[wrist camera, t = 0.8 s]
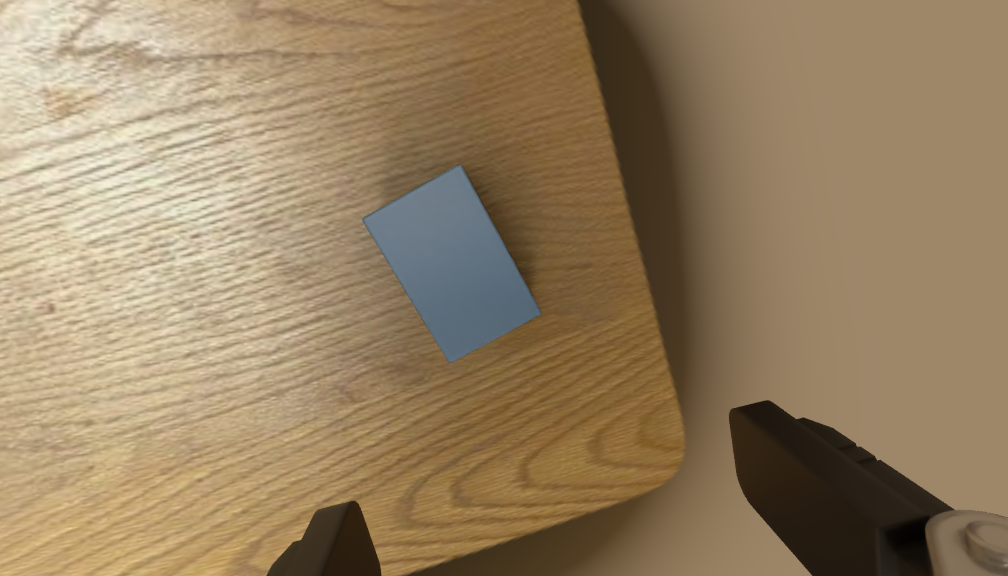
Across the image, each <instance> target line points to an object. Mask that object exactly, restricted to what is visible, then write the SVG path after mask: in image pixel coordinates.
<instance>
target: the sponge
mask: <svg viewBox="0 0 1008 576" xmlns="http://www.w3.org/2000/svg"><path fill="white" fill-rule="evenodd" d="M362 221H363V223H364V224H365V226H366V227H367V229H368V231H369V232H370V234H371V236H372V237H373V239H374V241H375V242H376V244H377V246H378V247H379V249H380V250H381V252H382V254H383V255H384V257H385V259H386V260H387V262H388V264H389V265H390V267H391V269H392V270H393V272H394V273H395V275H396V277H397V278H398V280H399V282H400V283H401V285H402V287H403V288H404V290H405V292H406V293H407V295H408V296H409V298H410V300H411V301H412V303H413V305H414V306H415V308H416V310H417V311H418V313H419V315H420V316H421V318H422V319H423V321H424V323H425V324H426V326H427V328H428V329H429V331H430V333H431V334H432V336H433V338H434V339H435V341H436V342H437V344H438V346H439V347H440V349H441V351H442V352H443V354H444V356H445V357H446V359H447V361H448V362H449V363H452V362H454V361H456V360H458V359H459V358H461V357H463V356H465V355H467V354H469V353H471V352H472V351H474V350H476V349H478V348H480V347H482V346H484V345H485V344H487V343H489V342H491V341H493V340H495V339H497V338H498V337H500V336H502V335H504V334H506V333H508V332H510V331H511V330H513V329H515V328H517V327H519V326H521V325H522V324H524V323H526V322H528V321H530V320H532V319H534V318H535V317H537V316H539V315H541V311H540V309H539V307H538V305H537V303H536V301H535V299H534V298H533V296H532V294H531V292H530V290H529V288H528V287H527V285H526V283H525V281H524V279H523V277H522V276H521V274H520V272H519V270H518V268H517V266H516V265H515V263H514V261H513V259H512V257H511V255H510V253H509V252H508V250H507V248H506V246H505V244H504V242H503V241H502V239H501V237H500V235H499V233H498V231H497V230H496V228H495V226H494V224H493V222H492V220H491V218H490V217H489V215H488V213H487V211H486V209H485V207H484V206H483V204H482V202H481V200H480V198H479V196H478V195H477V193H476V191H475V189H474V187H473V185H472V184H471V182H470V180H469V178H468V176H467V174H466V172H465V171H464V169H463V167H462V165H461V164H458V165H456V166H455V167H453V168H451V169H449V170H448V171H446V172H444V173H442V174H440V175H439V176H437V177H435V178H433V179H431V180H430V181H428V182H426V183H424V184H423V185H421V186H419V187H417V188H415V189H414V190H412V191H410V192H408V193H406V194H405V195H403V196H401V197H399V198H398V199H396V200H394V201H392V202H390V203H389V204H387V205H385V206H383V207H381V208H380V209H378V210H376V211H374V212H372V213H371V214H369V215H367V216H365V217H364V218H363V219H362Z"/></svg>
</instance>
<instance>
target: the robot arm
mask: <svg viewBox="0 0 1008 576" xmlns="http://www.w3.org/2000/svg"><path fill="white" fill-rule="evenodd" d="M729 422H730V429H731V437H732V444H733V452H734V459H735V466H736V473H737V477H738V481H739V484H740V486H741V489H742V491H743V493H744V495H745V497H746V498H747V500H748V502H749V503H750V504H751V506H752V507H753V508H754V509H755V510H756V511H757V513H758V514H759V515H760V516H761V517H762V518H763V519H764V521H765V522H766V523H767V524H768V525H769V526H770V527H771V529H772V530H773V531H774V532H775V533H776V534H777V536H778V537H779V538H780V539H781V540H782V541H783V542H784V544H785V545H786V546H787V547H788V548H789V549H790V550H791V552H792V553H793V554H794V555H795V556H796V557H797V559H798V560H799V561H800V562H801V563H802V564H803V565H804V567H805V568H806V569H807V570H808V571H809V572H810V573H811V575H812V576H1008V517H1004V516H1000V515H997V514H992V513H987V512H981V511H973V510H954V509H953V508H951V507H950V506H948V505H947V504H945V503H944V502H942V501H941V500H939V499H938V498H936V497H935V496H933V495H932V494H930V493H929V492H927V491H926V490H924V489H923V488H921V487H920V486H918V485H917V484H916V483H914V482H913V481H911V480H909V479H908V478H906V477H905V476H904V475H902V474H901V473H899V472H898V471H896V470H894V469H893V468H892V467H890V466H888V465H887V464H886V463H884V462H883V461H881V460H878V461H877V460H876V458H875V456H874V455H872V454H871V453H869V452H868V451H866V450H865V449H863V448H862V447H857V446H856V443H854V442H853V441H851V440H850V439H848V438H847V437H845V436H844V435H842V434H841V433H839V432H838V431H836V430H835V429H833V428H831V427H829V426H826V425H823V424H820V423H817V422H814V421H812V420H809V419H806V418H800V419H795V418H794V417H792V416H791V415H790V414H788V413H787V412H785V411H784V410H783V409H781V408H780V407H778V406H777V405H776V404H774V403H773V402H771V401H768V400H766V401H761V402H757V403H753V404H749V405H745V406H741V407H737V408H733V409H731V411H730V413H729ZM267 576H381V568H380V563H379V560H378V557H377V554H376V551H375V548H374V545H373V542H372V539H371V537H370V534H369V531H368V528H367V525H366V522H365V519H364V516H363V514H362V511H361V508H360V506H359V504H358V503H357V502H356V501H350V502H346V503H342V504H338V505H334V506H330V507H326V508H322V509H318V510H317V511H316V512H315V514H314V515H313V517H312V519H311V521H310V523H309V525H308V528H307V530H306V532H305V534H304V536H303V538H302V540H300V541H296V542H293V543H292V544H291V545H290V546H289V547H288V548H287V549H286V551H285V552H284V553H283V554H282V555H281V556H280V557H279V558H278V559H277V560H276V561H275V562H274V564H273V565H272V566H271V568H270V570H269V572H268V574H267Z"/></svg>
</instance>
